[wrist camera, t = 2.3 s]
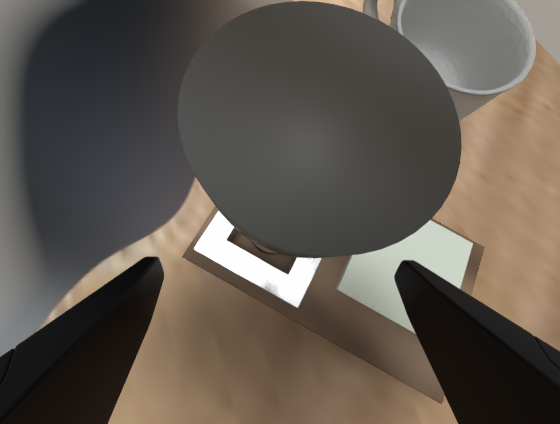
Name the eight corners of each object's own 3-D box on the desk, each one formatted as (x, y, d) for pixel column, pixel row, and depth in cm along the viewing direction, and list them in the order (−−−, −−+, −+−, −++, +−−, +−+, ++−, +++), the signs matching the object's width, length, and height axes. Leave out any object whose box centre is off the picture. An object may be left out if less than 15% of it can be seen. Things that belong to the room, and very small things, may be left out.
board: (429, 394, 17) (441, 404, 16) (187, 257, 18) (182, 256, 16) (471, 248, 20) (484, 247, 19) (265, 135, 21) (266, 128, 20)
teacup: (467, 120, 24) (568, 51, 16) (395, 166, 22) (473, 112, 14) (389, 30, 26) (445, -71, 18) (316, 63, 24) (345, -35, 16)
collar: (291, 301, 17) (297, 307, 14) (202, 251, 17) (193, 249, 14) (334, 214, 18) (346, 206, 16) (254, 170, 19) (253, 156, 16)
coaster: (437, 346, 17) (442, 348, 16) (335, 288, 17) (337, 289, 17) (467, 243, 19) (473, 243, 19) (376, 194, 19) (379, 192, 19)
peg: (283, 273, 17) (408, 319, 3) (230, 243, 17) (108, 152, 3) (311, 221, 18) (489, 78, 4) (260, 193, 18) (271, -36, 4)
